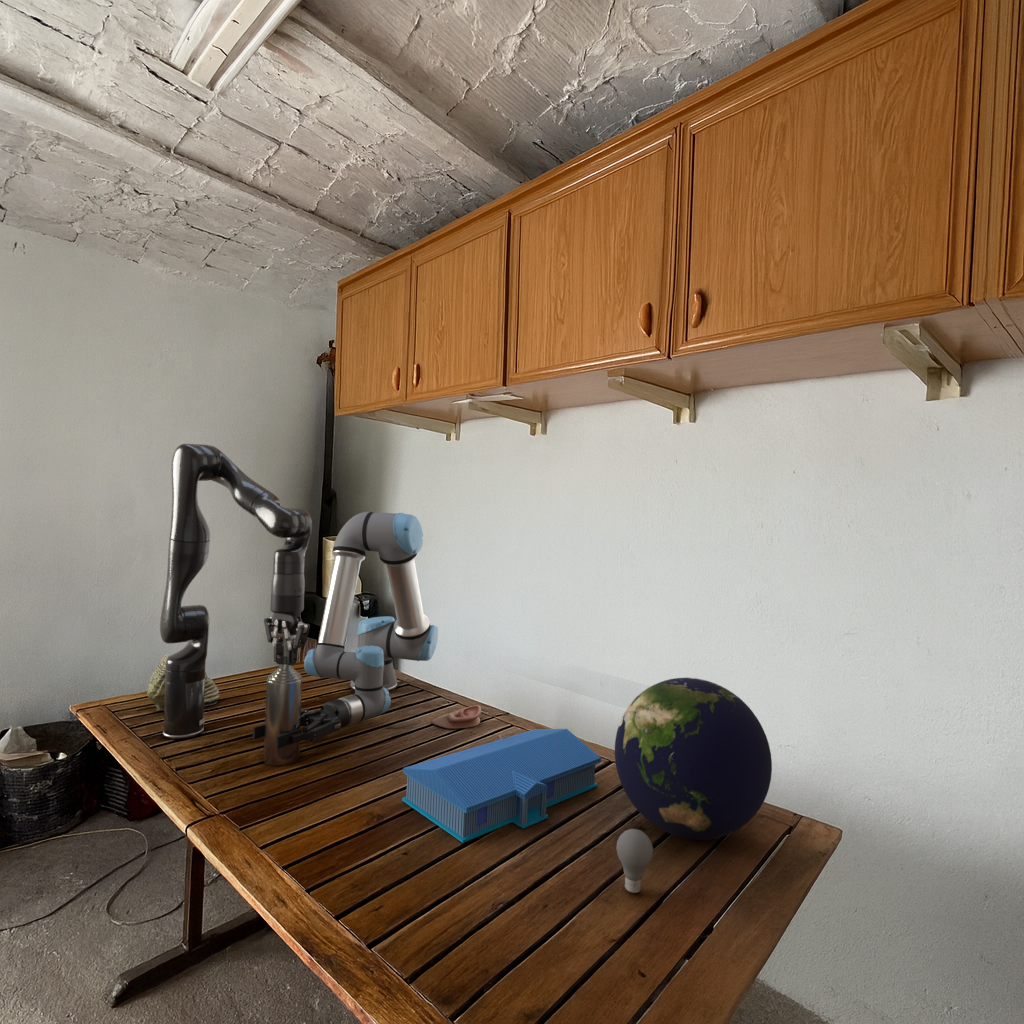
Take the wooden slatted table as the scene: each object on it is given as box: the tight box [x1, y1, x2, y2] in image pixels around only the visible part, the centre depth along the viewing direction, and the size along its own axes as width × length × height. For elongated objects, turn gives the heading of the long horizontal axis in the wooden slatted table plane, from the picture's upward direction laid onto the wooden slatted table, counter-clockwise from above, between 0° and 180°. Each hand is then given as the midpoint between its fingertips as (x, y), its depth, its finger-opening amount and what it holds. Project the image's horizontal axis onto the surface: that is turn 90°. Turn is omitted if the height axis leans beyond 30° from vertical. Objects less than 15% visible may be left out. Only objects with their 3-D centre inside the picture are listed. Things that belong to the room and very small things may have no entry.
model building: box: [401, 728, 602, 844], centre depth 138 cm, size 39×24×10 cm, turn 132°
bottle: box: [263, 664, 303, 766], centre depth 152 cm, size 8×8×24 cm
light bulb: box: [615, 828, 654, 894], centre depth 106 cm, size 6×6×10 cm
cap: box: [275, 651, 287, 665], centre depth 152 cm, size 4×4×2 cm
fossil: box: [147, 654, 221, 712], centre depth 185 cm, size 9×18×15 cm, turn 132°
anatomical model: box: [431, 704, 482, 729], centre depth 181 cm, size 13×4×12 cm
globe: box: [614, 676, 773, 841], centre depth 126 cm, size 30×30×30 cm
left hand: (285, 662), depth 152 cm, fingers closed on cap, 4 cm apart
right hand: (265, 737), depth 148 cm, fingers closed on bottle, 8 cm apart
